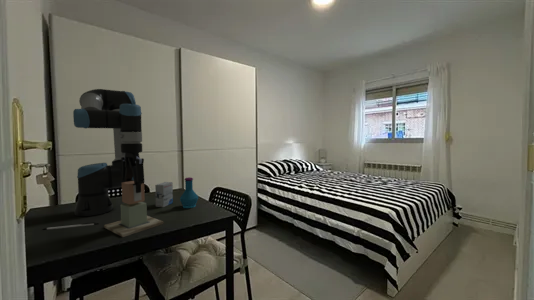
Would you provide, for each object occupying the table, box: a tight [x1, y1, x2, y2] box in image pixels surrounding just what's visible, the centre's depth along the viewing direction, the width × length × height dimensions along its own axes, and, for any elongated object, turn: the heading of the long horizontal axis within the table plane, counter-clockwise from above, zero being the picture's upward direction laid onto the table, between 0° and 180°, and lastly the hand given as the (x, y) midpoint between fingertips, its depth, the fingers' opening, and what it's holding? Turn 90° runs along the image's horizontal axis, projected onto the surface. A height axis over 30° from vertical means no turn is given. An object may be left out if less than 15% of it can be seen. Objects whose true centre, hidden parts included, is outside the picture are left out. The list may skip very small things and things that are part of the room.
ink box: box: [154, 181, 174, 208], centre depth 126 cm, size 9×5×12 cm, turn 168°
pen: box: [41, 222, 100, 231], centre depth 96 cm, size 1×19×1 cm, turn 108°
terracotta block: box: [121, 181, 146, 205], centre depth 96 cm, size 6×6×8 cm
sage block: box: [120, 201, 148, 228], centre depth 97 cm, size 7×7×8 cm
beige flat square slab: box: [103, 215, 164, 238], centre depth 97 cm, size 16×16×1 cm
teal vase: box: [179, 176, 199, 209], centre depth 123 cm, size 9×9×15 cm
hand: (133, 199), depth 96 cm, fingers closed on terracotta block, 6 cm apart
